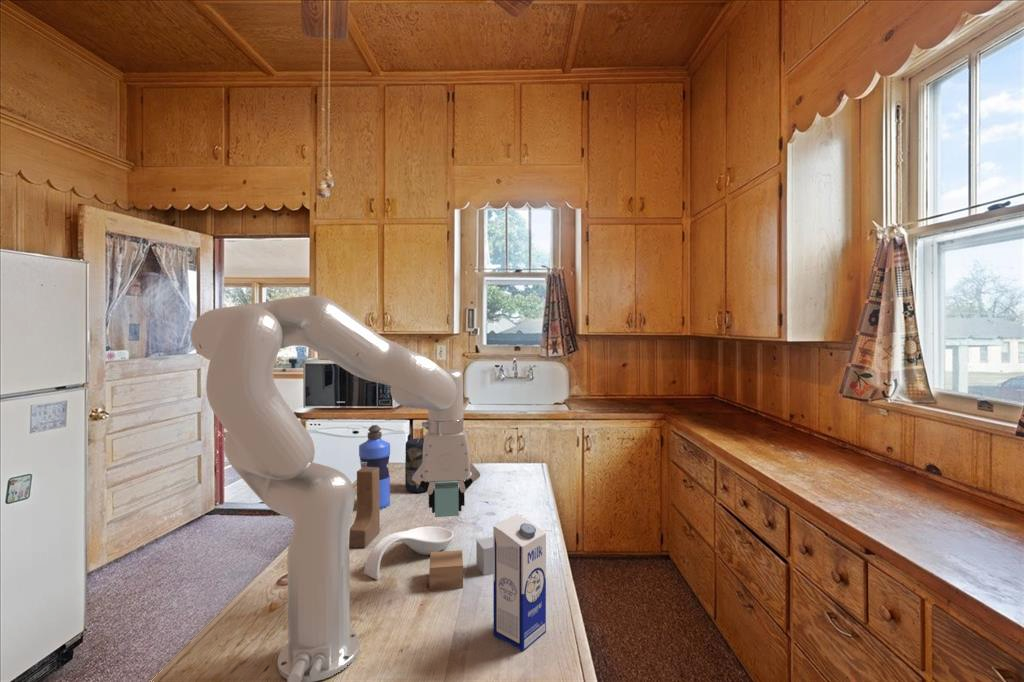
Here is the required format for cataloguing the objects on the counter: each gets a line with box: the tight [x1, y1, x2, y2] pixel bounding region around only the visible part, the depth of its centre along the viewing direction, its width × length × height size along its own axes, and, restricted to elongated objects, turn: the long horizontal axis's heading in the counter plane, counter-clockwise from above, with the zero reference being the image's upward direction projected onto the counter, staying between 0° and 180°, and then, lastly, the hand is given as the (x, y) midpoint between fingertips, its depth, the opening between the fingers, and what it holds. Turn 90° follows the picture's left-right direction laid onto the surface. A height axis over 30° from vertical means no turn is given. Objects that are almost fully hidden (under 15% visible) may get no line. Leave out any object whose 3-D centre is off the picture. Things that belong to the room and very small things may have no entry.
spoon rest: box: [363, 525, 455, 580], centre depth 112 cm, size 24×12×7 cm, turn 144°
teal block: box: [434, 481, 460, 518], centre depth 102 cm, size 5×5×6 cm
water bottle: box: [358, 424, 391, 510], centre depth 146 cm, size 9×9×25 cm
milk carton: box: [492, 513, 547, 652], centre depth 84 cm, size 7×7×20 cm
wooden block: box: [349, 467, 381, 549], centre depth 121 cm, size 9×4×18 cm, turn 172°
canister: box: [404, 436, 429, 493], centre depth 161 cm, size 10×10×18 cm
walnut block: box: [428, 549, 464, 592], centre depth 102 cm, size 7×7×5 cm
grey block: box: [475, 536, 493, 576], centre depth 107 cm, size 5×5×6 cm
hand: (446, 508), depth 102 cm, fingers closed on teal block, 5 cm apart
